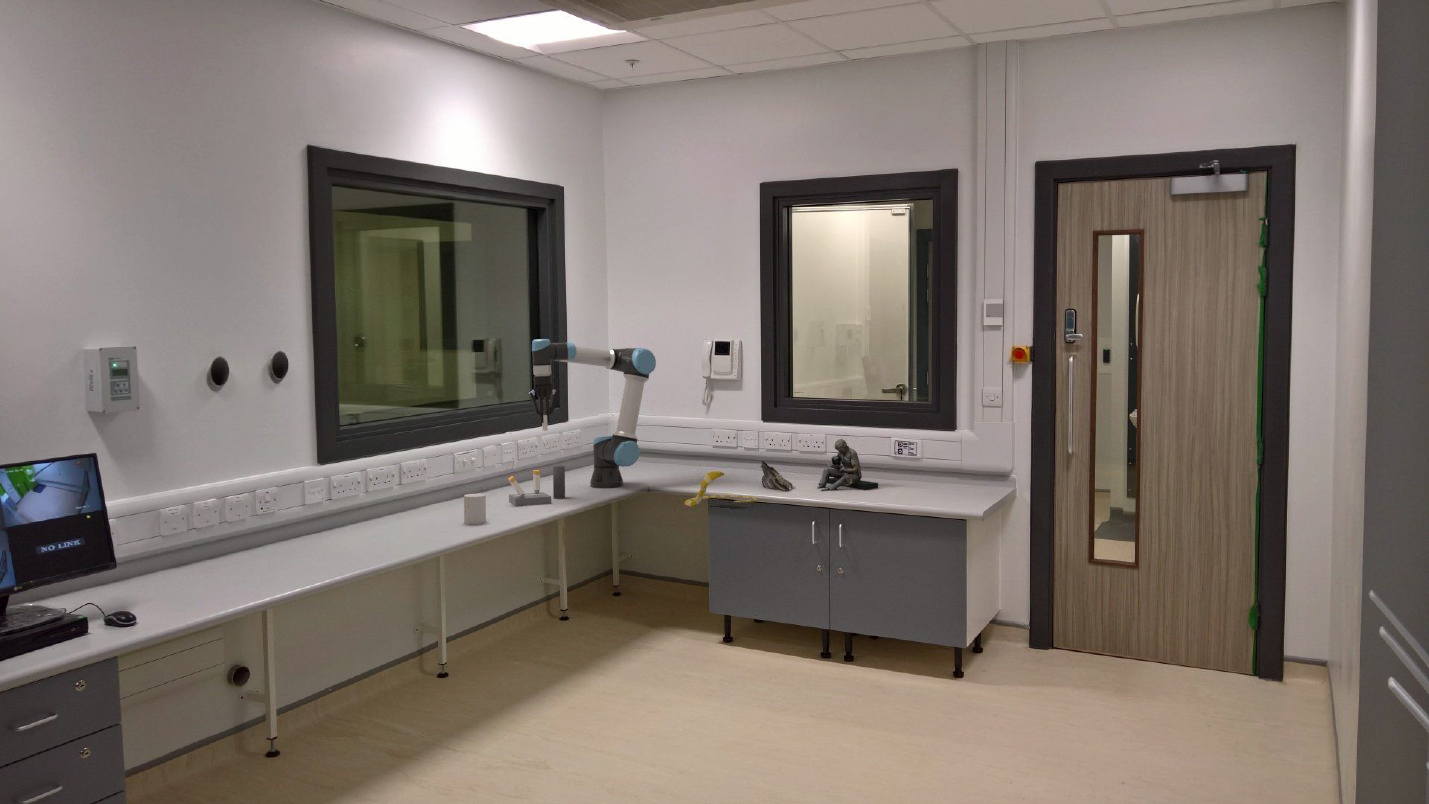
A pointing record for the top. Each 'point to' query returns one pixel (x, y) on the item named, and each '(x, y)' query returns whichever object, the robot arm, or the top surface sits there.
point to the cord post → (558, 482)
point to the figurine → (844, 470)
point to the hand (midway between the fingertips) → (545, 430)
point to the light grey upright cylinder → (474, 508)
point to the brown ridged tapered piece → (773, 478)
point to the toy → (704, 484)
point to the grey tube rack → (530, 499)
